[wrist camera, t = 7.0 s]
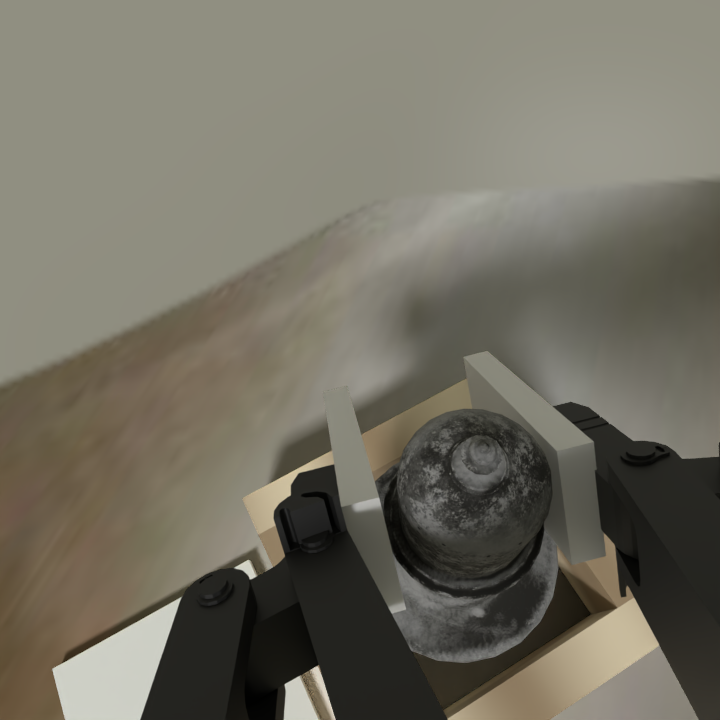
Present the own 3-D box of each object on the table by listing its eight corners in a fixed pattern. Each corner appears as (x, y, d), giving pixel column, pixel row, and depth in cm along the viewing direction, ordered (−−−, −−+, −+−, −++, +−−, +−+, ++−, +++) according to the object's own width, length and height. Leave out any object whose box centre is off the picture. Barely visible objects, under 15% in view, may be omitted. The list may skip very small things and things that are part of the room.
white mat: (251, 561, 24) (248, 559, 23) (344, 774, 20) (343, 777, 20) (59, 668, 22) (52, 669, 22) (124, 916, 19) (117, 923, 18)
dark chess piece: (377, 468, 22) (345, 273, 11) (541, 498, 21) (675, 315, 10) (342, 641, 19) (256, 602, 8) (527, 684, 18) (690, 700, 8)
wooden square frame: (481, 395, 26) (491, 364, 24) (650, 632, 22) (685, 627, 19) (259, 516, 24) (242, 498, 22) (391, 804, 20) (390, 827, 17)
